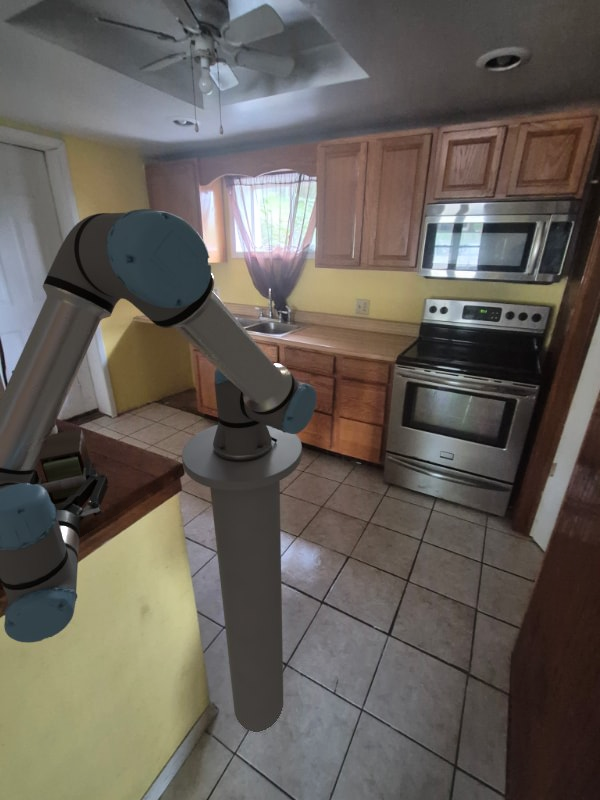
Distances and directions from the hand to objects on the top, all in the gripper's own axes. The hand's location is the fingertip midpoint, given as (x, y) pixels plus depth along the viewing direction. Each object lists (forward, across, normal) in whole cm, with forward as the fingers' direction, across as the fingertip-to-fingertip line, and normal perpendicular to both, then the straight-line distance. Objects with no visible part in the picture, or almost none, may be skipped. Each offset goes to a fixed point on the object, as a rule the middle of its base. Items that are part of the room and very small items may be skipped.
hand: (63, 470), depth 77 cm
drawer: (+2, 0, -6) cm, 6 cm away
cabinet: (+7, 0, -7) cm, 10 cm away
